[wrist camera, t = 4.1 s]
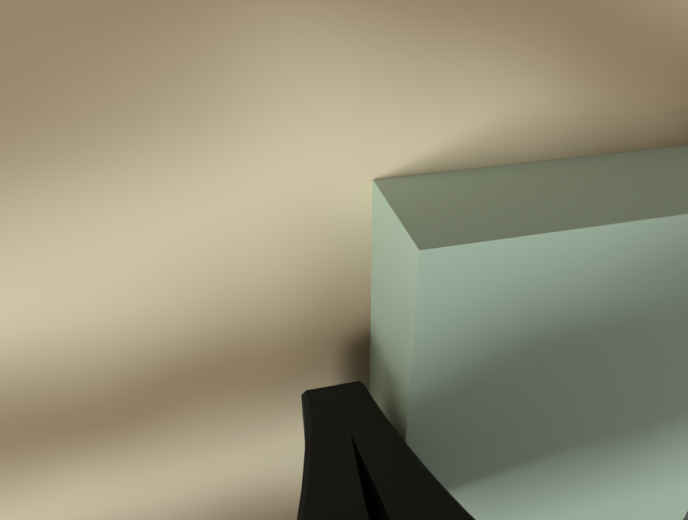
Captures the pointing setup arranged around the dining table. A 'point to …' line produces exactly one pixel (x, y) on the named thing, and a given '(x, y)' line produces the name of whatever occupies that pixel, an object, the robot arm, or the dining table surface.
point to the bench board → (253, 213)
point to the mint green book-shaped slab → (539, 333)
